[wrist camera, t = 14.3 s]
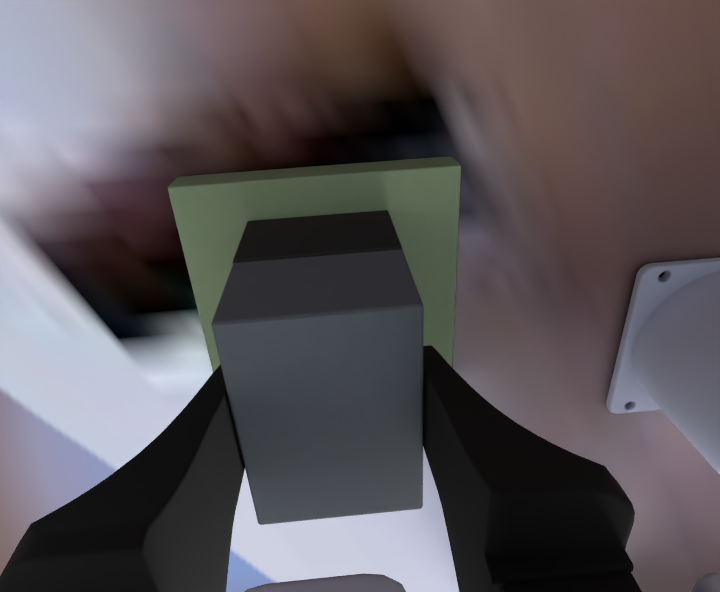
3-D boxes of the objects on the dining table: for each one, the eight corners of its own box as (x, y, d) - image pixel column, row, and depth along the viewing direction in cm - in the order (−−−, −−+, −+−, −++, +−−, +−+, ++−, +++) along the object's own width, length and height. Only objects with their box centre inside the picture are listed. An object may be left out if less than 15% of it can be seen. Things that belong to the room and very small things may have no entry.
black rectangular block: (388, 209, 18) (402, 246, 15) (393, 371, 21) (405, 428, 18) (246, 220, 17) (231, 260, 14) (275, 382, 21) (267, 442, 18)
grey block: (402, 247, 15) (424, 304, 12) (406, 430, 18) (423, 510, 15) (232, 261, 14) (209, 322, 11) (268, 443, 18) (258, 526, 15)
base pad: (451, 155, 18) (461, 164, 17) (444, 373, 23) (451, 392, 22) (177, 176, 18) (166, 187, 17) (228, 393, 23) (223, 414, 21)
